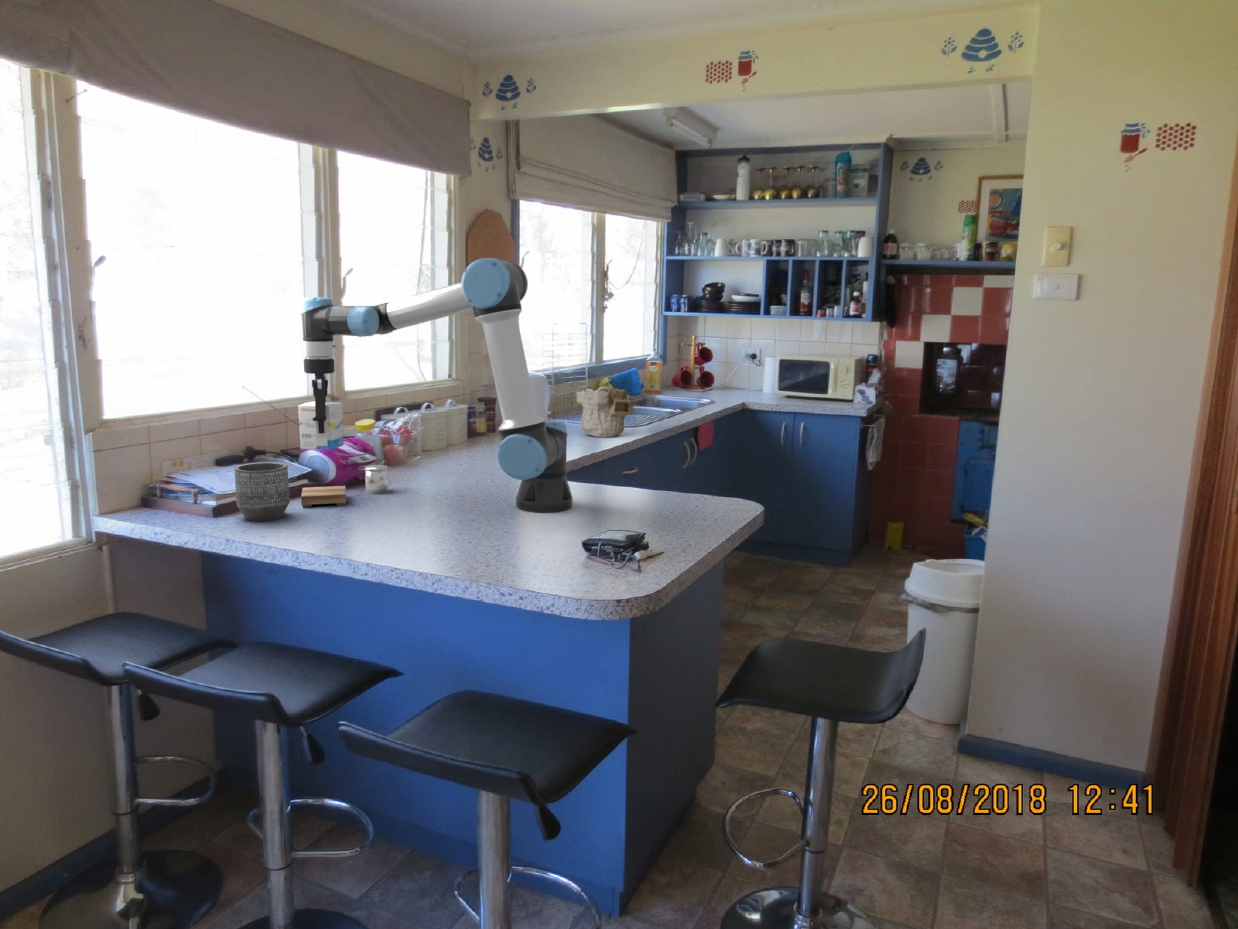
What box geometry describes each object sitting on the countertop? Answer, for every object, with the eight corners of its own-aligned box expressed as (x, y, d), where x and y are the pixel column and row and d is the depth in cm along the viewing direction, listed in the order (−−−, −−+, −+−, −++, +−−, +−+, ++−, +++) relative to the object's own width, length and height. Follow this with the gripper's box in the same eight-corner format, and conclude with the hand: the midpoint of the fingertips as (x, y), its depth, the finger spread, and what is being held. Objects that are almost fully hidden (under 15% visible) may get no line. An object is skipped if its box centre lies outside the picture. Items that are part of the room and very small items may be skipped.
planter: (300, 515, 216) (298, 465, 213) (259, 525, 206) (255, 473, 203) (269, 508, 222) (266, 460, 219) (226, 518, 212) (223, 467, 209)
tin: (388, 493, 242) (388, 468, 240) (365, 494, 240) (364, 469, 239) (387, 488, 248) (386, 464, 246) (365, 489, 246) (364, 465, 244)
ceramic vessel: (601, 408, 373) (626, 365, 358) (628, 449, 362) (655, 406, 347) (559, 410, 359) (583, 366, 344) (586, 453, 347) (612, 409, 332)
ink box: (344, 445, 231) (343, 401, 229) (331, 450, 223) (329, 405, 221) (313, 443, 232) (312, 400, 230) (299, 449, 224) (297, 404, 221)
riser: (346, 505, 227) (345, 494, 226) (301, 507, 223) (301, 496, 223) (345, 496, 237) (345, 485, 236) (303, 498, 234) (302, 487, 233)
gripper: (334, 361, 213) (337, 449, 218) (334, 354, 235) (337, 435, 239) (301, 360, 211) (305, 449, 215) (305, 354, 232) (308, 435, 237)
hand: (322, 442), depth 227 cm, fingers closed on ink box, 10 cm apart
